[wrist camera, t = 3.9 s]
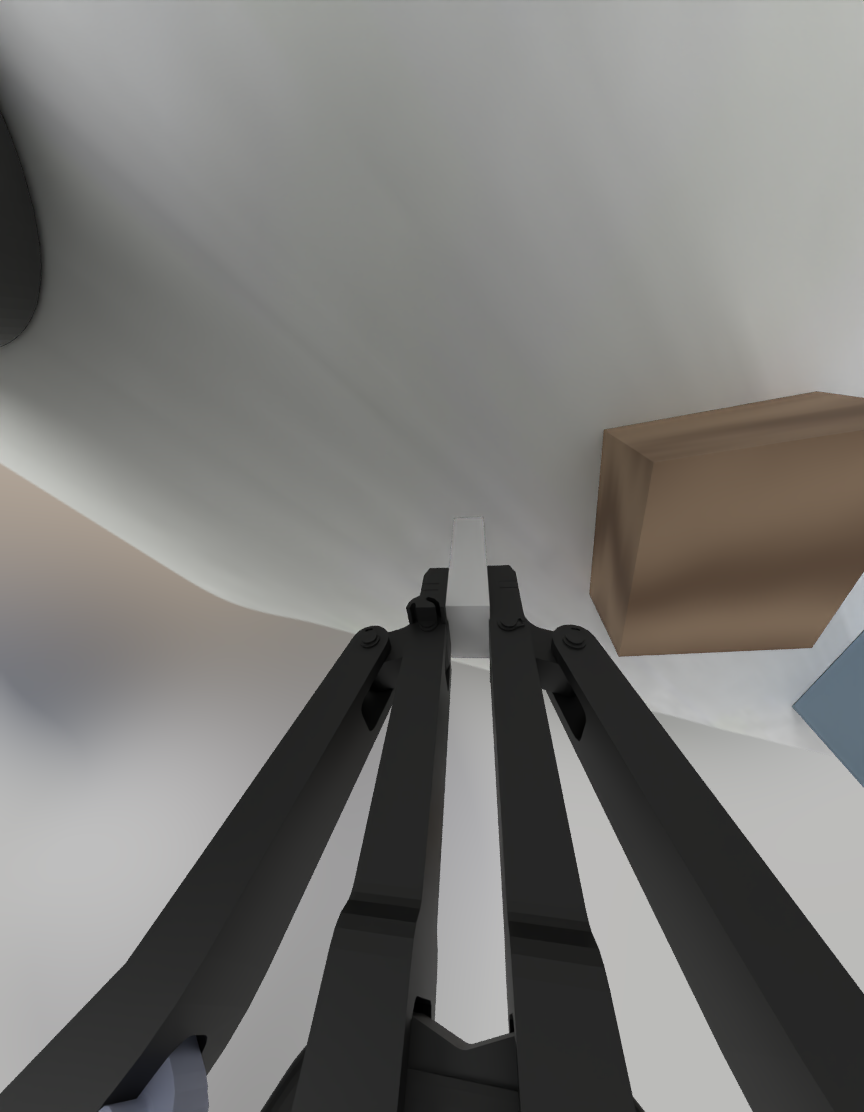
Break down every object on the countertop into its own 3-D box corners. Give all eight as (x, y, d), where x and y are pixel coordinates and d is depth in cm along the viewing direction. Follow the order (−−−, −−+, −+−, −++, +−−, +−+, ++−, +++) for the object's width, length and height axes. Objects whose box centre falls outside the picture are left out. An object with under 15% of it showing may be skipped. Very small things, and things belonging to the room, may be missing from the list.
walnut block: (601, 428, 14) (653, 462, 10) (811, 390, 13) (971, 413, 9) (588, 591, 20) (618, 656, 16) (734, 579, 18) (811, 647, 14)
